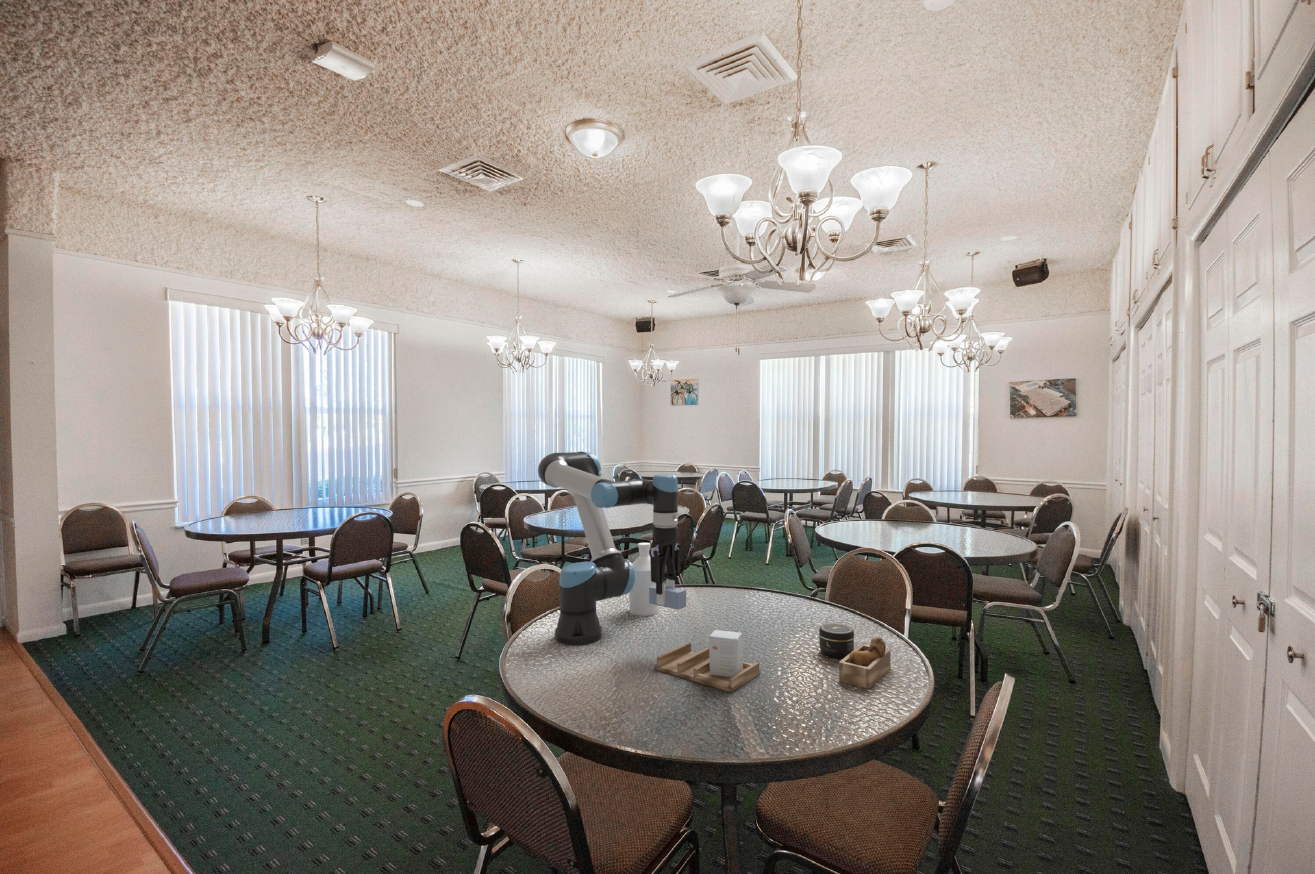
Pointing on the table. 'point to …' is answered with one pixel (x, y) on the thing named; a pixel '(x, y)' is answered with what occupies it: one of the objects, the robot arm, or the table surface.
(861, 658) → the lion figurine
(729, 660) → the small box
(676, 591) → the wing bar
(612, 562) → the robot arm
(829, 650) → the jar
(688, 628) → the table surface
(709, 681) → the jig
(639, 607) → the bottle
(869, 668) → the open wooden box
